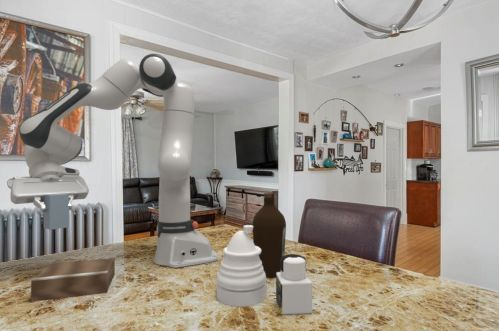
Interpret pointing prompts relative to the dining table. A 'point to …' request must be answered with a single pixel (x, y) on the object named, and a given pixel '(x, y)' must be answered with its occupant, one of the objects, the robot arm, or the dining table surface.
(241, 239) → the honey pot
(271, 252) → the olive oil
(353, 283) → the dining table surface
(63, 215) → the blue-grey rectangular block
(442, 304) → the dining table surface
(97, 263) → the dock
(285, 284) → the medicine bottle
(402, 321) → the dining table surface
